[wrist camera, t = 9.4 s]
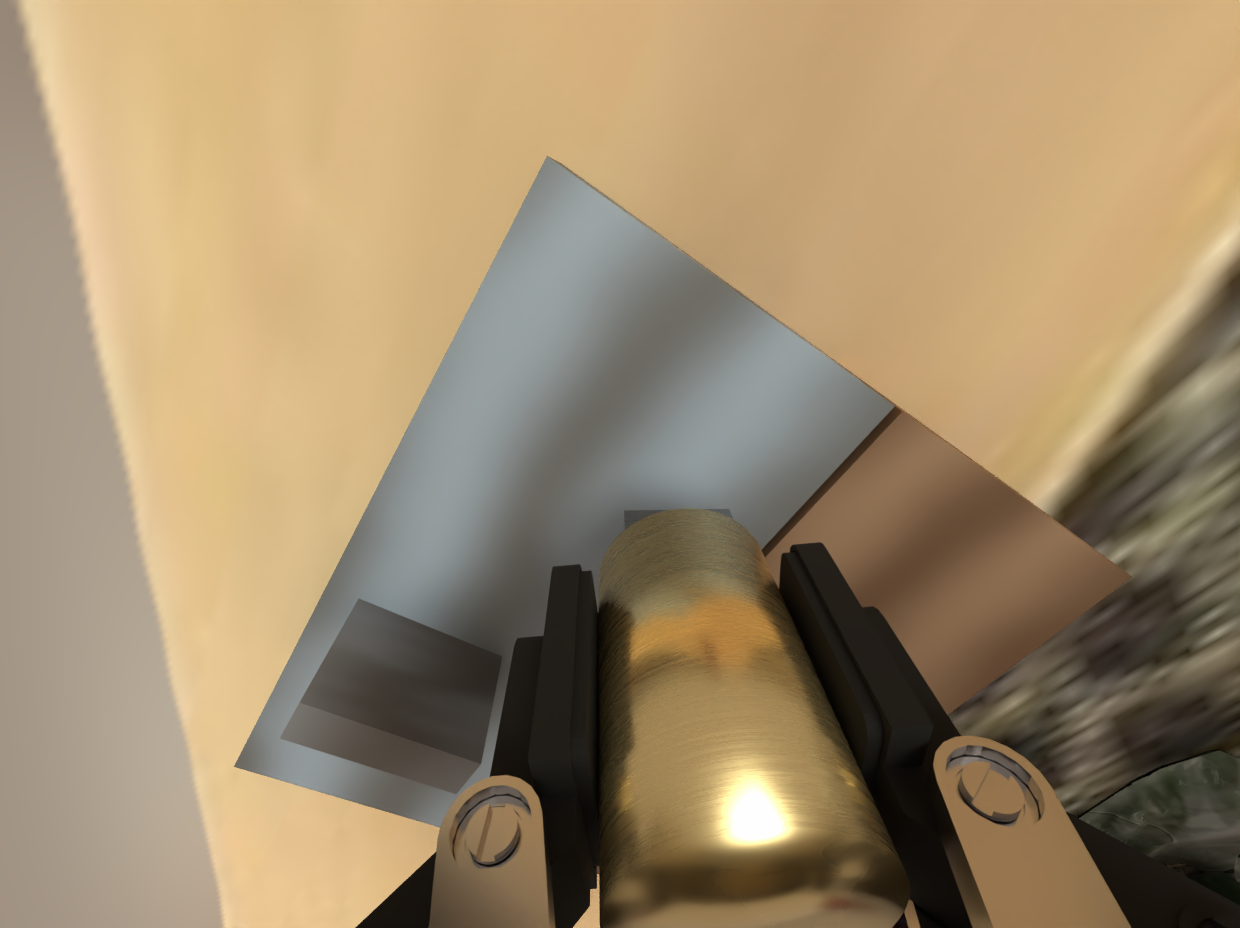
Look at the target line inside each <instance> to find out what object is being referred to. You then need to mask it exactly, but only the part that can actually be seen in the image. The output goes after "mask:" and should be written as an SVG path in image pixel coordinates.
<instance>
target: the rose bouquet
mask: <svg viewBox="0 0 1240 928" xmlns="http://www.w3.org/2000/svg"><path fill="white" fill-rule="evenodd" d="M1079 819H1081V820H1082V821H1084V822H1086V823H1088V824H1090V825H1092V826H1094V827H1095V828H1097V829H1099V830H1101V831H1103V832H1105V833H1106V834H1108V835H1110V836H1112V837H1114V838H1116V839H1118V840H1119V841H1121V842H1123V843H1125V844H1127V845H1129V846H1131V847H1132V848H1134V849H1136V850H1138V851H1140V852H1142V853H1143V854H1145V855H1147V856H1149V857H1151V858H1153V859H1155V860H1156V861H1158V862H1160V863H1162V864H1164V865H1166V864H1177V863H1182V864H1184V863H1185V864H1187V865H1188V866H1191V867H1194V868H1196V869H1200V870H1203V871H1205V872H1204V873H1202V874H1198V875H1189V874H1185V871H1184V869H1183V868H1176V867H1174V868H1171V869H1173V870H1175V871H1177V872H1179V873H1180V874H1182V875H1184V876H1186V877H1188V878H1190V879H1192V880H1193V881H1195V882H1197V883H1199V884H1201V885H1203V886H1205V887H1206V888H1208V889H1210V890H1212V891H1214V892H1216V893H1217V894H1219V895H1221V896H1223V897H1225V898H1227V899H1229V900H1230V901H1232V902H1234V903H1236V904H1238V905H1240V758H1236V757H1232V754H1231V755H1228V753H1224V752H1222V751H1219V750H1213V751H1208V752H1206V753H1203V754H1201V755H1199V756H1197V757H1194V758H1191V759H1188V760H1185V761H1182V762H1179V763H1176V764H1173V765H1170V766H1167V767H1164V768H1162V769H1159V770H1157V771H1155V772H1154V773H1152V774H1150V775H1148V776H1146V777H1144V778H1142V779H1139V780H1137V781H1135V782H1134V783H1132V784H1130V785H1129V786H1127V787H1126V788H1124V789H1122V790H1121V791H1119V792H1118V793H1116V794H1115V795H1113V796H1112V797H1110V798H1109V799H1107V800H1106V801H1104V802H1103V803H1101V804H1100V805H1098V806H1097V807H1095V808H1094V809H1092V810H1091V811H1089V812H1088V813H1086V814H1085V815H1083V816H1082V817H1080V818H1079ZM1232 869H1234V874H1231V873H1224V871H1227V870H1232Z"/></svg>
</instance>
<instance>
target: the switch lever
mask: <svg viewBox="0 0 1240 928" xmlns="http://www.w3.org/2000/svg"><path fill="white" fill-rule="evenodd" d="M598 681H599V870H600V928H892V927H893V926H894V924H895V923H896V922H897V921H898V920H899V919H900V917H901V916H902V914H903V912H904V911H905V909H906V907H907V904H908V901H909V897H910V882H909V878H908V876H907V874H906V871H905V869H904V867H903V865H902V863H901V860H900V858H899V856H898V854H897V851H896V849H895V847H894V845H893V842H892V840H891V838H890V836H889V834H888V831H887V829H886V827H885V825H884V822H883V820H882V818H881V816H880V813H879V811H878V809H877V807H876V805H875V802H874V800H873V798H872V796H871V793H870V791H869V789H868V787H867V784H866V782H865V780H864V778H863V776H862V773H861V771H860V769H859V767H858V764H857V762H856V760H855V758H854V756H853V753H852V751H851V749H850V747H849V744H848V742H847V740H846V738H845V735H844V733H843V731H842V729H841V727H840V724H839V722H838V720H837V718H836V715H835V713H834V711H833V709H832V706H831V704H830V702H829V700H828V698H827V695H826V693H825V691H824V689H823V686H822V684H821V682H820V680H819V678H818V675H817V673H816V671H815V669H814V666H813V664H812V662H811V660H810V657H809V655H808V653H807V651H806V649H805V646H804V644H803V642H802V640H801V637H800V635H799V633H798V631H797V628H796V626H795V624H794V622H793V620H792V617H791V615H790V613H789V611H788V608H787V606H786V604H785V602H784V600H783V597H782V595H781V593H780V591H779V588H778V586H777V584H776V582H775V579H774V577H773V575H772V573H771V571H770V568H769V566H768V564H767V562H766V559H765V557H764V555H763V553H762V550H761V548H760V546H759V544H758V542H757V541H756V539H755V538H754V536H753V535H752V534H751V533H750V532H749V531H748V530H747V529H746V528H745V527H744V526H742V525H741V524H740V523H739V522H737V521H735V520H734V519H733V517H732V514H731V512H730V510H729V509H691V508H685V509H673V510H628V511H624V531H623V532H622V533H621V534H620V535H619V536H618V537H617V538H615V540H614V541H613V542H612V543H611V545H610V546H609V547H608V549H607V551H606V552H605V554H604V556H603V559H602V561H601V564H600V568H599V573H598Z"/></svg>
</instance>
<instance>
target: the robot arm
mask: <svg viewBox="0 0 1240 928" xmlns="http://www.w3.org/2000/svg"><path fill="white" fill-rule="evenodd" d="M779 591H780V593H781V595H782V597H783V600H784V602H785V604H786V606H787V608H788V611H789V613H790V615H791V617H792V620H793V622H794V624H795V626H796V628H797V631H798V633H799V635H800V637H801V640H802V642H803V644H804V646H805V649H806V651H807V653H808V655H809V657H810V660H811V662H812V664H813V666H814V669H815V671H816V673H817V675H818V678H819V680H820V682H821V684H822V686H823V689H824V691H825V693H826V695H827V698H828V700H829V702H830V704H831V706H832V709H833V711H834V713H835V715H836V718H837V720H838V722H839V724H840V727H841V729H842V731H843V733H844V735H845V738H846V740H847V742H848V744H849V747H850V749H851V751H852V753H853V756H854V758H855V760H856V762H857V764H858V767H859V769H860V771H861V773H862V776H863V778H864V780H865V782H866V784H867V787H868V789H869V791H870V793H871V796H872V798H873V800H874V802H875V805H876V807H877V809H878V811H879V813H880V816H881V818H882V820H883V822H884V825H885V827H886V829H887V831H888V834H889V836H890V838H891V840H892V842H893V845H894V847H895V849H896V851H897V854H898V856H899V858H900V860H901V863H902V865H903V867H904V869H905V871H906V874H907V876H908V878H909V882H910V897H909V901H908V904H907V907H906V909H905V911H904V912H905V916H906V919H907V923H908V927H909V928H1240V905H1238V904H1236V903H1234V902H1232V901H1230V900H1229V899H1227V898H1225V897H1223V896H1221V895H1219V894H1217V893H1216V892H1214V891H1212V890H1210V889H1208V888H1206V887H1205V886H1203V885H1201V884H1199V883H1197V882H1195V881H1193V880H1192V879H1190V878H1188V877H1186V876H1184V875H1182V874H1180V873H1179V872H1177V871H1175V870H1173V869H1171V868H1169V867H1168V866H1166V865H1164V864H1162V863H1160V862H1158V861H1156V860H1155V859H1153V858H1151V857H1149V856H1147V855H1145V854H1143V853H1142V852H1140V851H1138V850H1136V849H1134V848H1132V847H1131V846H1129V845H1127V844H1125V843H1123V842H1121V841H1119V840H1118V839H1116V838H1114V837H1112V836H1110V835H1108V834H1106V833H1105V832H1103V831H1101V830H1099V829H1097V828H1095V827H1094V826H1092V825H1090V824H1088V823H1086V822H1084V821H1082V820H1081V819H1079V818H1077V817H1075V816H1073V815H1071V814H1069V813H1068V812H1066V811H1065V810H1064V808H1063V806H1062V805H1061V803H1060V801H1059V799H1058V798H1057V796H1056V794H1055V792H1054V791H1053V789H1052V787H1051V786H1050V785H1049V783H1048V782H1047V780H1046V779H1045V778H1044V776H1043V775H1042V774H1041V772H1040V771H1039V770H1038V769H1037V768H1035V767H1034V766H1033V765H1032V764H1031V763H1030V762H1029V761H1028V760H1027V759H1026V758H1024V757H1023V756H1021V755H1020V754H1018V753H1017V752H1015V751H1013V750H1012V749H1010V748H1009V747H1007V746H1005V745H1002V744H1000V743H997V742H995V741H992V740H990V739H987V738H981V737H975V736H961V735H960V734H959V732H958V731H957V729H956V728H955V726H954V725H953V723H952V721H951V720H950V718H949V717H948V715H947V714H946V712H945V711H944V709H943V707H942V706H941V704H940V703H939V701H938V700H937V698H936V697H935V695H934V693H933V692H932V690H931V689H930V687H929V686H928V684H927V683H926V681H925V680H924V678H923V676H922V675H921V673H920V672H919V670H918V669H917V667H916V666H915V664H914V662H913V661H912V659H911V658H910V656H909V655H908V653H907V652H906V650H905V649H904V647H903V645H902V644H901V642H900V641H899V639H898V638H897V636H896V635H895V633H894V631H893V630H892V628H891V627H890V625H889V624H888V622H887V621H886V619H885V617H884V616H883V615H882V613H881V612H880V611H879V610H878V609H877V608H875V607H874V606H871V607H862V606H861V605H860V603H859V601H858V600H857V598H856V596H855V595H854V593H853V591H852V590H851V588H850V587H849V585H848V583H847V582H846V580H845V578H844V577H843V575H842V573H841V572H840V570H839V568H838V567H837V565H836V563H835V562H834V560H833V559H832V557H831V555H830V554H829V552H828V550H827V549H826V547H825V546H824V544H823V543H821V542H816V543H805V544H794V545H792V546H791V548H790V552H788V553H782V555H781V564H780V580H779ZM597 866H599V681H598V609H597V603H596V596H595V589H594V582H593V575H592V571H582V568H581V565H580V564H575V565H564V566H553V568H552V572H551V580H550V588H549V596H548V604H547V612H546V620H545V627H544V635H543V636H535V637H523V638H517V640H516V642H515V645H514V649H513V655H512V660H511V665H510V671H509V676H508V681H507V687H506V692H505V697H504V703H503V708H502V713H501V719H500V724H499V729H498V735H497V740H496V745H495V751H494V756H493V762H492V767H491V772H490V777H489V778H486V779H484V780H481V781H479V782H476V783H475V784H473V785H472V786H471V787H469V788H468V789H466V790H465V791H464V792H462V793H461V795H460V796H459V797H458V798H457V799H456V800H455V801H454V802H453V804H452V805H451V806H450V808H449V810H448V812H447V813H446V815H445V817H444V819H443V821H442V824H441V828H440V832H439V836H438V841H437V851H436V852H435V853H434V854H433V855H432V856H431V857H430V858H429V859H428V860H427V861H426V862H425V863H424V864H423V865H422V866H421V867H419V868H418V869H417V870H416V871H415V872H414V873H413V874H412V875H411V876H410V877H409V878H408V879H407V880H406V881H405V882H404V883H403V884H401V885H400V886H399V887H398V888H397V889H396V890H395V891H394V892H393V893H392V894H391V895H390V896H389V897H388V898H387V899H386V900H384V901H383V902H382V903H381V904H380V905H379V906H378V907H377V908H376V909H375V910H374V911H373V912H372V913H371V914H370V915H369V916H367V917H366V918H365V919H364V920H363V921H362V922H361V923H360V924H359V925H358V926H357V927H356V928H573V926H574V925H575V924H576V923H577V921H578V920H579V919H580V918H581V916H582V915H583V914H584V913H585V911H586V910H587V909H588V907H589V906H590V889H596V888H597Z"/></svg>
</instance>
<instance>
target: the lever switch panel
mask: <svg viewBox="0 0 1240 928" xmlns="http://www.w3.org/2000/svg"><path fill="white" fill-rule="evenodd" d="M685 508H691V509H729V510H730V512H731V514H732V517H733V519H734V520H735V521H737V522H739V523H740V524H741V525H742V526H744V527H745V528H746V529H747V530H748V531H749V532H750V533H751V534H752V535H753V536H754V538H755V539H756V541H757V542H758V544H759V546H760V548H761V550H762V553H763V555H764V557H765V559H766V562H767V564H768V566H769V568H770V571H771V573H772V575H773V577H774V579H775V582H776V584H777V586H778V588H779V580H780V564H781V555H782V553H788V552H790V548H791V546H792V545H794V544H805V543H816V542H821V543H823V544H824V546H825V547H826V549H827V550H828V552H829V554H830V555H831V557H832V559H833V560H834V562H835V563H836V565H837V567H838V568H839V570H840V572H841V573H842V575H843V577H844V578H845V580H846V582H847V583H848V585H849V587H850V588H851V590H852V591H853V593H854V595H855V596H856V598H857V600H858V601H859V603H860V605H861V606H862V607H871V606H874V607H875V608H877V609H878V610H879V611H880V612H881V613H882V615H883V616H884V617H885V619H886V621H887V622H888V624H889V625H890V627H891V628H892V630H893V631H894V633H895V635H896V636H897V638H898V639H899V641H900V642H901V644H902V645H903V647H904V649H905V650H906V652H907V653H908V655H909V656H910V658H911V659H912V661H913V662H914V664H915V666H916V667H917V669H918V670H919V672H920V673H921V675H922V676H923V678H924V680H925V681H926V683H927V684H928V686H929V687H930V689H931V690H932V692H933V693H934V695H935V697H936V698H937V700H938V701H939V703H940V704H941V706H942V707H943V709H944V711H945V712H946V714H947V715H948V714H950V713H951V712H952V711H954V710H955V709H956V708H958V707H959V706H960V705H962V704H963V703H964V702H966V701H967V700H968V699H970V698H971V697H972V696H974V695H975V694H976V693H978V692H979V691H980V690H982V689H983V688H984V687H986V686H987V685H988V684H990V683H991V682H992V681H994V680H995V679H996V678H998V677H999V676H1000V675H1002V674H1003V673H1004V672H1006V671H1007V670H1008V669H1010V668H1011V667H1012V666H1014V665H1015V664H1016V663H1018V662H1019V661H1021V660H1022V659H1023V658H1025V657H1026V656H1027V655H1029V654H1030V653H1031V652H1033V651H1034V650H1035V649H1037V648H1038V647H1039V646H1041V645H1042V644H1043V643H1045V642H1046V641H1047V640H1049V639H1050V638H1051V637H1053V636H1054V635H1055V634H1057V633H1058V632H1059V631H1061V630H1062V629H1063V628H1065V627H1066V626H1067V625H1069V624H1070V623H1071V622H1073V621H1074V620H1075V619H1077V618H1078V617H1079V616H1081V615H1082V614H1083V613H1085V612H1086V611H1087V610H1089V609H1090V608H1091V607H1093V606H1094V605H1095V604H1097V603H1098V602H1099V601H1101V600H1102V599H1103V598H1105V597H1106V596H1107V595H1109V594H1110V593H1111V592H1113V591H1114V590H1115V589H1117V588H1118V587H1119V586H1121V585H1122V584H1123V583H1125V582H1126V581H1127V580H1129V579H1130V578H1131V577H1132V576H1130V575H1129V574H1128V573H1126V572H1125V571H1123V570H1122V569H1121V568H1119V567H1118V566H1117V565H1115V564H1114V563H1113V562H1111V561H1110V560H1109V559H1107V558H1106V557H1104V556H1103V555H1102V554H1100V553H1099V552H1098V551H1096V550H1095V549H1094V548H1092V547H1091V546H1090V545H1088V544H1087V543H1086V542H1084V541H1083V540H1081V539H1080V538H1079V537H1077V536H1076V535H1075V534H1073V533H1072V532H1071V531H1069V530H1068V529H1067V528H1065V527H1064V526H1062V525H1061V524H1060V523H1058V522H1057V521H1056V520H1054V519H1053V518H1052V517H1050V516H1049V515H1048V514H1046V513H1045V512H1043V511H1042V510H1041V509H1039V508H1038V507H1037V506H1035V505H1034V504H1033V503H1031V502H1030V501H1029V500H1027V499H1026V498H1024V497H1023V496H1022V495H1020V494H1019V493H1018V492H1016V491H1015V490H1013V489H1012V488H1011V487H1009V486H1008V485H1006V484H1005V483H1004V482H1002V481H1001V480H1000V479H998V478H997V477H995V476H994V475H993V474H991V473H990V472H988V471H987V470H986V469H984V468H983V467H982V466H980V465H979V464H977V463H976V462H975V461H973V460H972V459H970V458H969V457H968V456H966V455H965V454H963V453H962V452H961V451H959V450H958V449H957V448H955V447H954V446H952V445H951V444H950V443H948V442H947V441H945V440H944V439H943V438H941V437H940V436H939V435H937V434H936V433H934V432H933V431H932V430H930V429H929V428H927V427H926V426H925V425H923V424H922V423H920V422H919V421H918V420H916V419H915V418H914V417H912V416H911V415H909V414H908V413H907V412H905V411H904V410H902V409H901V408H900V407H898V406H897V405H896V404H894V403H893V402H891V401H890V400H889V399H887V398H886V397H884V396H883V395H882V394H880V393H879V392H877V391H876V390H875V389H873V388H872V387H871V386H869V385H868V384H866V383H865V382H864V381H862V380H861V379H859V378H858V377H857V376H855V375H854V374H853V373H851V372H850V371H848V370H847V369H846V368H844V367H843V366H841V365H840V364H839V363H837V362H836V361H835V360H833V359H832V358H830V357H829V356H827V355H826V354H825V353H823V352H822V351H821V350H819V349H818V348H816V347H815V346H814V345H812V344H811V343H810V342H808V341H807V340H805V339H804V338H803V337H801V336H800V335H798V334H797V333H796V332H794V331H793V330H792V329H790V328H789V327H787V326H786V325H785V324H783V323H782V322H780V321H779V320H778V319H776V318H775V317H773V316H772V315H771V314H769V313H768V312H767V311H765V310H764V309H762V308H761V307H760V306H758V305H757V304H755V303H754V302H753V301H751V300H750V299H749V298H747V297H746V296H744V295H743V294H742V293H740V292H739V291H737V290H736V289H735V288H733V287H732V286H731V285H729V284H728V283H726V282H725V281H724V280H722V279H721V278H719V277H718V276H717V275H715V274H714V273H712V272H711V271H710V270H708V269H707V268H706V267H704V266H703V265H701V264H700V263H699V262H697V261H696V260H694V259H693V258H692V257H690V256H689V255H688V254H686V253H685V252H683V251H682V250H681V249H679V248H678V247H676V246H675V245H674V244H672V243H671V242H669V241H668V240H667V239H665V238H664V237H663V236H661V235H660V234H658V233H657V232H656V231H654V230H653V229H651V228H650V227H649V226H647V225H646V224H645V223H643V222H642V221H640V220H639V219H638V218H636V217H635V216H633V215H632V214H631V213H629V212H628V211H627V210H625V209H624V208H622V207H621V206H620V205H618V204H617V203H615V202H614V201H613V200H611V199H610V198H608V197H607V196H606V195H604V194H603V193H602V192H600V191H599V190H597V189H596V188H595V187H593V186H592V185H590V184H589V183H588V182H586V181H585V180H584V179H582V178H581V177H579V176H578V175H577V174H575V173H574V172H572V171H571V170H570V169H568V168H567V167H565V166H564V165H563V164H561V163H560V162H558V161H556V160H554V159H552V158H550V157H548V156H547V157H546V159H545V161H544V163H543V165H542V167H541V169H540V171H539V173H538V175H537V177H536V179H535V181H534V183H533V185H532V187H531V189H530V190H529V192H528V194H527V196H526V198H525V200H524V202H523V204H522V206H521V208H520V210H519V212H518V214H517V216H516V218H515V220H514V222H513V224H512V226H511V228H510V229H509V231H508V233H507V235H506V237H505V239H504V241H503V243H502V245H501V247H500V249H499V251H498V253H497V255H496V257H495V259H494V261H493V263H492V265H491V267H490V268H489V270H488V272H487V274H486V276H485V278H484V280H483V282H482V284H481V286H480V288H479V290H478V292H477V294H476V296H475V298H474V300H473V302H472V304H471V306H470V307H469V309H468V311H467V313H466V315H465V317H464V319H463V321H462V323H461V325H460V327H459V329H458V331H457V333H456V335H455V337H454V339H453V341H452V343H451V345H450V346H449V348H448V350H447V352H446V354H445V356H444V358H443V360H442V362H441V364H440V366H439V368H438V370H437V372H436V374H435V376H434V378H433V380H432V382H431V384H430V385H429V387H428V389H427V391H426V393H425V395H424V397H423V399H422V401H421V403H420V405H419V407H418V409H417V411H416V413H415V415H414V417H413V419H412V421H411V423H410V424H409V426H408V428H407V430H406V432H405V434H404V436H403V438H402V440H401V442H400V444H399V446H398V448H397V450H396V452H395V454H394V456H393V458H392V460H391V462H390V464H389V465H388V467H387V469H386V471H385V473H384V475H383V477H382V479H381V481H380V483H379V485H378V487H377V489H376V491H375V493H374V495H373V497H372V499H371V501H370V503H369V504H368V506H367V508H366V510H365V512H364V514H363V516H362V518H361V520H360V522H359V524H358V526H357V528H356V530H355V532H354V534H353V536H352V538H351V540H350V542H349V543H348V545H347V547H346V549H345V551H344V553H343V555H342V557H341V559H340V561H339V563H338V565H337V567H336V569H335V571H334V573H333V575H332V577H331V579H330V581H329V582H328V584H327V586H326V588H325V590H324V592H323V594H322V596H321V598H320V600H319V602H318V604H317V606H316V608H315V610H314V612H313V614H312V616H311V618H310V620H309V621H308V623H307V625H306V627H305V629H304V631H303V633H302V635H301V637H300V639H299V641H298V643H297V645H296V647H295V649H294V651H293V653H292V655H291V657H290V659H289V660H288V662H287V664H286V666H285V668H284V670H283V672H282V674H281V676H280V678H279V680H278V682H277V684H276V686H275V688H274V690H273V692H272V694H271V696H270V698H269V699H268V701H267V703H266V705H265V707H264V709H263V711H262V713H261V715H260V717H259V719H258V721H257V723H256V725H255V727H254V729H253V731H252V733H251V735H250V737H249V738H248V740H247V742H246V744H245V746H244V748H243V750H242V752H241V754H240V756H239V758H238V760H237V762H236V764H235V766H234V767H237V768H240V769H244V770H247V771H250V772H254V773H257V774H260V775H264V776H267V777H271V778H274V779H277V780H281V781H284V782H288V783H291V784H294V785H298V786H301V787H305V788H308V789H311V790H315V791H318V792H322V793H325V794H328V795H332V796H335V797H339V798H342V799H345V800H349V801H352V802H356V803H359V804H362V805H366V806H369V807H373V808H376V809H379V810H383V811H386V812H389V813H393V814H396V815H400V816H403V817H406V818H410V819H413V820H417V821H420V822H423V823H427V824H430V825H434V826H437V827H440V828H441V824H442V821H443V819H444V817H445V815H446V813H447V812H448V810H449V808H450V806H451V805H452V804H453V802H454V801H455V800H456V799H457V798H458V797H459V796H460V795H461V793H462V792H464V791H465V790H466V789H468V788H469V787H471V786H472V785H473V784H475V783H476V782H479V781H481V780H484V779H486V778H489V777H490V772H491V767H492V762H493V756H494V751H495V745H496V740H497V735H498V729H499V724H500V719H501V713H502V708H503V703H504V697H505V692H506V687H507V681H508V676H509V671H510V665H511V660H512V655H513V649H514V645H515V642H516V640H517V638H523V637H535V636H543V635H544V627H545V620H546V612H547V604H548V596H549V588H550V580H551V572H552V568H553V566H564V565H575V564H580V565H581V568H582V571H592V575H593V582H594V589H595V596H596V603H597V609H598V573H599V568H600V564H601V561H602V559H603V556H604V554H605V552H606V551H607V549H608V547H609V546H610V545H611V543H612V542H613V541H614V540H615V538H617V537H618V536H619V535H620V534H621V533H622V532H623V531H624V511H628V510H673V509H685ZM597 874H600V870H599V866H597Z"/></svg>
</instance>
